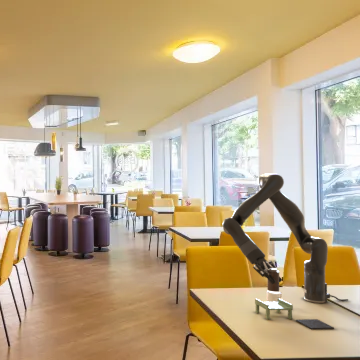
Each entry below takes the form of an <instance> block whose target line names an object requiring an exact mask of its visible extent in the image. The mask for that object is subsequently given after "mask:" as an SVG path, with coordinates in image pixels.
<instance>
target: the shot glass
mask: <svg viewBox="0 0 360 360" xmlns="http://www.w3.org/2000/svg"><path fill="white" fill-rule="evenodd" d="M265 291H266V293H265V294H266V302H278V298H280V299H282V296H283V295H282V294H283V292H281V291H280V290H279V291H278V292H274V291H269V290H268V289H267V290H265Z"/></svg>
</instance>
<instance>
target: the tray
mask: <svg viewBox="0 0 360 360" xmlns="http://www.w3.org/2000/svg"><path fill="white" fill-rule="evenodd" d="M254 305H255V313H256V314H260V308H262V309H264V310H265V319H266V320H271V311H276V313H278V314H281V312H282V311H287V319H288V320H293V310H294V304H292V303H290V302H288V301H286V300H284V299H283V298H281V299H280V298H278V302H267V301H262V300H260V299H258V298H254Z"/></svg>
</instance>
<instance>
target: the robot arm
mask: <svg viewBox="0 0 360 360" xmlns="http://www.w3.org/2000/svg"><path fill="white" fill-rule="evenodd" d="M284 184H285V181H284V178H283V176H282V175H280V174H278V173H263V174H260V175H259V176H258V178H257V185H258V187H259V190H258V191H257V192H256V193H254V194H252V195H251V196H249V197H248V198H247V199H245V200H243V201H242V202H241V204H240V205H239V206H238V207H237V208H236V209H235V210H234V212H233V214H232V216H231V217H226V218H224V219H223V221H222V229H223V232H224V234H226V235H230V237H231V238H232V241H233V242H234V244H235V245H236V246H237V247H238V248H239V250H240V251H241V253H242V254H243V256H244V257H245V258H246V259H247V261H249V263H250V264H251V265H253V266H252V268H253V270H254V271H256V273H258V275H259V276H261V277H262V278H266V279H268V280H269V281H270V282H271V284H274V283H276V280H275V279H274V278H273V277H272V276H271V275H270V273H269V271H268V270H269V268H276V269H277V271H279V269H278V268H277V266H275V264H274V263H273V261H272V260H270V261H268V260H267V259H266V254H265V253H264V252H263V250H261V248H260V247H259V246H258V245H257V244H256V243H255V242H254V241H253V240H252V239H251V238H250V237H249V235H248V234H247V233H246V231H245V230H244V229H243V227H242V226H243V225H244V223H245V222H246V221H247V220H248V219H249V218H250V217H251V216H252V215H253V213H254V212H255V211H256V210H257V209H259V207H261V206H262V205H263V204H264V203H265V202H266V201H268V200H270V203H272V205H273V206H274V208H275V209H276V210H277V212H278V214H279V215H280V217H281V218H282V220H283V221H284V223H285V224H286V225H287V226H288V228H289V230H290V231H291V233H292V234H293V236H294V238H295V239H296V241H297V243H298V245H299V247H300V249H301V250H302V251H303V252H304V253H305V254H308V255H310V259H309V260H305V261H304V262H303V267H304V268H303V300H305V301H307V302H310V303H314V304H315V303H316V304H323V303H327V302H328V299H331V298H334V299H336V300H337V301H339V302H347V301H349V299H348V298H345V299H343V298H341V299H340V298H338V297H337V296H335V295H332V294H330V293H328V284H327V282H326V265H327V263H328V252H329V251H328V249H329V248H328V243H327V241H326V240H325V239H324V238H321V237H315V236H312V235H311V234H310V233H309V231H308V230H307V229H306V226H305V216H304V213H303V212H302V210H301V209H300V208H299V206H298V205H297V204H296V202H294V201H293V200H291V198H289V197H288V196H286V195H285V194H284V193H283V192H282V191H281V189H282V188H283V187H284ZM282 281H283V279H282V278H281V276H280V275H279V283H281V282H282Z"/></svg>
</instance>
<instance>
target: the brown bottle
mask: <svg viewBox="0 0 360 360" xmlns="http://www.w3.org/2000/svg"><path fill="white" fill-rule="evenodd" d="M276 268H277V267H276ZM276 268H269V269H268V271H269V273H270V275H271V276H272V277H273V278H274V279H275V280H276V283H274V284H271V282H270V281H269V280H268V279H267V278H266V279H267V291H268V290H269V291H274V292H278V291H279V292H280V282H279V276H280V271H279V270H278V268H277V269H276ZM277 270H278V271H277Z"/></svg>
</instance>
